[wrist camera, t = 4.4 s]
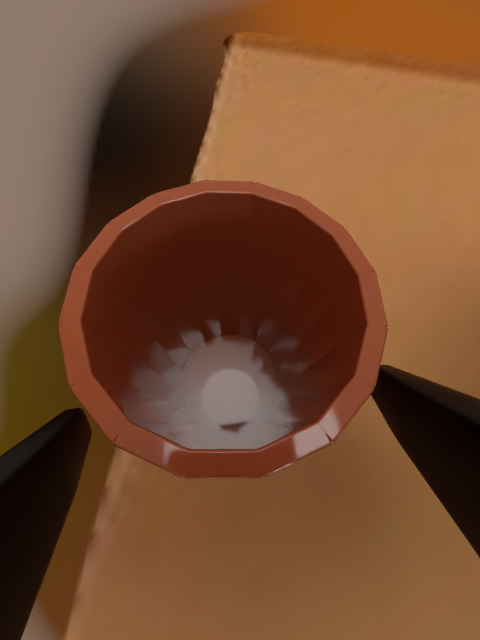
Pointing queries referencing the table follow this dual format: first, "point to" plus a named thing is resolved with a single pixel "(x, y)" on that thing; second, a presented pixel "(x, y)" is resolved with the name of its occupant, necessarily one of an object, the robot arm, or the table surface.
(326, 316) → the clay cup
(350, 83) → the table surface
